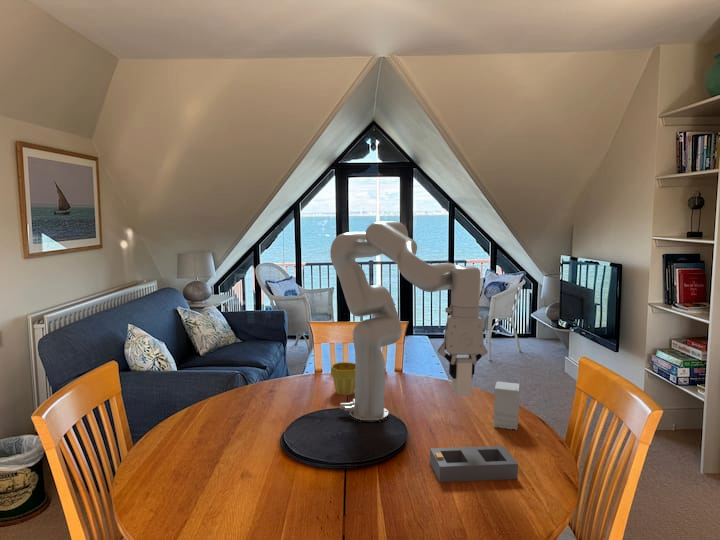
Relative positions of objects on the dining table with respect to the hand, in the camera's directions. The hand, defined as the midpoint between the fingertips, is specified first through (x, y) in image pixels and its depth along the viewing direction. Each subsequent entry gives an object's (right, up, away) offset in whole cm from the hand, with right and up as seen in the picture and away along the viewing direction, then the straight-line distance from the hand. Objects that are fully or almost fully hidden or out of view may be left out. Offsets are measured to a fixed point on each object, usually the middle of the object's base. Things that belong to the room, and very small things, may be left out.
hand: (461, 376), depth 146 cm
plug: (0, -5, 0) cm, 5 cm away
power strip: (+1, -22, -9) cm, 24 cm away
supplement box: (+18, -19, +20) cm, 33 cm away
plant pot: (-33, -15, +47) cm, 59 cm away
